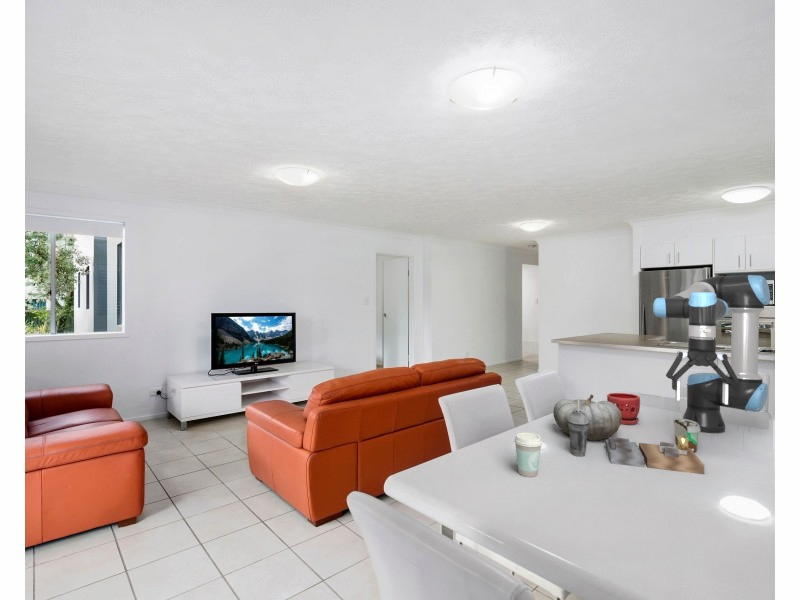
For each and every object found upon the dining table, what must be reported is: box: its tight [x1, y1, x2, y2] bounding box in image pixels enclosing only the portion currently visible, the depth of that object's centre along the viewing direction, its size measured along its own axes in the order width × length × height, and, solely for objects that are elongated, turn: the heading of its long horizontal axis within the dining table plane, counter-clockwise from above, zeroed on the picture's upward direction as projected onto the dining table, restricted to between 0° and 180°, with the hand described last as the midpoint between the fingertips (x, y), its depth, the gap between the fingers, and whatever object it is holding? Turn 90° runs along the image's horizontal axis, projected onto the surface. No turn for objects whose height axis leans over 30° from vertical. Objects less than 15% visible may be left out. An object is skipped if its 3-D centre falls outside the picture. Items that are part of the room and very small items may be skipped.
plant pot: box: [606, 392, 641, 425], centre depth 195 cm, size 13×13×12 cm
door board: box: [605, 436, 705, 475], centre depth 151 cm, size 27×16×5 cm, turn 70°
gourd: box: [552, 394, 622, 442], centre depth 176 cm, size 25×25×17 cm
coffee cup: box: [513, 432, 543, 478], centre depth 140 cm, size 8×8×12 cm
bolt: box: [659, 436, 688, 455], centre depth 149 cm, size 8×3×6 cm, turn 70°
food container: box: [673, 417, 702, 454], centre depth 161 cm, size 12×6×10 cm, turn 168°
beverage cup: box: [568, 399, 589, 458], centre depth 156 cm, size 7×7×20 cm
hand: (700, 401), depth 146 cm, fingers open, 13 cm apart
